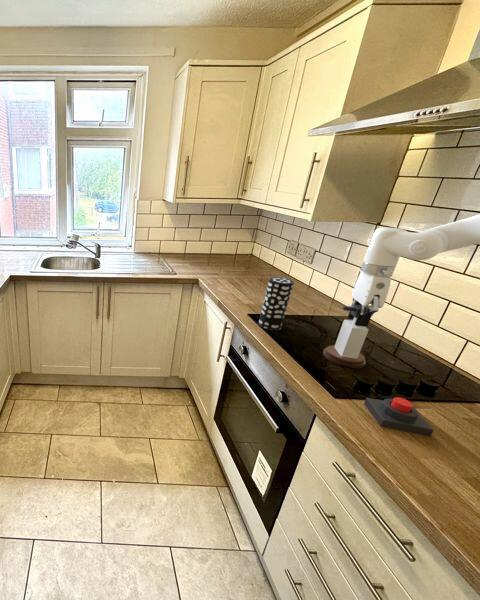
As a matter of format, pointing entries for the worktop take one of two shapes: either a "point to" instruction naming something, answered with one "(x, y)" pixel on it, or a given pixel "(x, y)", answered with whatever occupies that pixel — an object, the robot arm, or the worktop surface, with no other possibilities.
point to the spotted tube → (275, 303)
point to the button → (402, 404)
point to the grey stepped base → (397, 417)
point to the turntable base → (343, 363)
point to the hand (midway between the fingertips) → (357, 321)
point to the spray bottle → (349, 339)
